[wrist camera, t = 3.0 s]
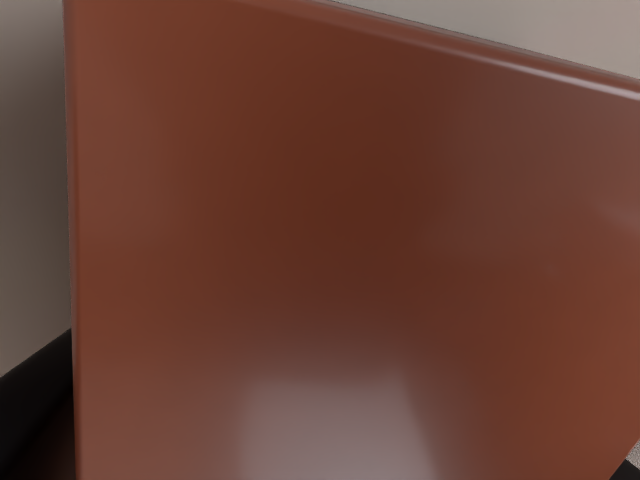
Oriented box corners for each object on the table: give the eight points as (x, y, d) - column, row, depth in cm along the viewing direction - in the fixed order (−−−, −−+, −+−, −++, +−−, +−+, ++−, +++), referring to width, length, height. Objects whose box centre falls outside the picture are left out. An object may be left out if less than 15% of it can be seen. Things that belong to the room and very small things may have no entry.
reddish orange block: (525, 49, 7) (882, 143, 3) (348, 495, 12) (394, 757, 8) (189, -36, 6) (52, -65, 2) (147, 489, 11) (81, 786, 7)
